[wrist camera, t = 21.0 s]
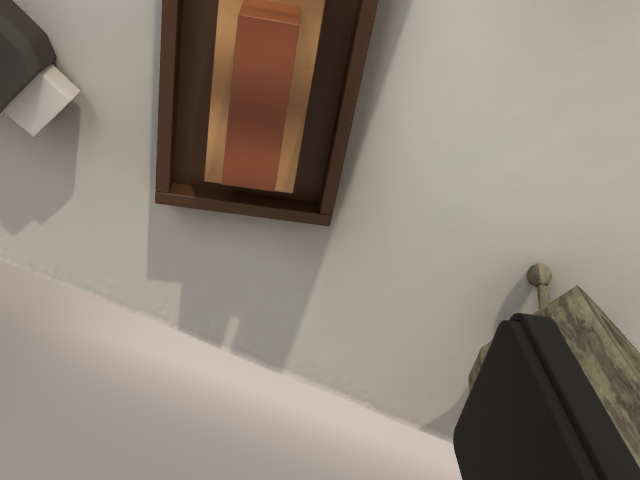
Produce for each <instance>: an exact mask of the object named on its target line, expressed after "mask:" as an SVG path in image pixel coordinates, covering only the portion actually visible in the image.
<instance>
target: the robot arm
mask: <svg viewBox="0 0 640 480" xmlns="http://www.w3.org/2000/svg"><path fill="white" fill-rule="evenodd" d="M453 443H454V450H455V454H456V458H457V461H458V465H459V468H460V472H461V476H462V479H463V480H640V468H639V466H638V464H637V463H636V461H635V459H634V457H633V456H632V454H631V452H630V450H629V449H628V447H627V445H626V444H625V442H624V440H623V438H622V437H621V435H620V433H619V431H618V430H617V428H616V426H615V425H614V423H613V421H612V419H611V418H610V416H609V414H608V412H607V411H606V409H605V407H604V406H603V404H602V402H601V400H600V399H599V397H598V395H597V394H596V392H595V390H594V388H593V387H592V385H591V383H590V381H589V380H588V378H587V376H586V375H585V373H584V371H583V369H582V368H581V366H580V364H579V362H578V361H577V359H576V357H575V356H574V354H573V352H572V350H571V349H570V347H569V345H568V344H567V342H566V340H565V338H564V337H563V335H562V333H561V331H560V330H559V328H558V326H557V325H556V323H555V321H554V320H553V319H552V318H550V317H547V316H539V315H530V314H522V313H516V314H514V315H513V316H512V317H511V318H510V320H509V321H508V320H504V321H502V322H501V323H500V324H499V326H498V328H497V331H496V333H495V335H494V338H493V340H492V342H491V345H490V347H489V349H488V352H487V354H486V357H485V359H484V361H483V364H482V366H481V368H480V371H479V373H478V375H477V378H476V380H475V382H474V385H473V387H472V389H471V392H470V394H469V396H468V399H467V401H466V403H465V406H464V408H463V411H462V413H461V415H460V418H459V420H458V422H457V425H456V427H455V430H454V437H453Z"/></svg>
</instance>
